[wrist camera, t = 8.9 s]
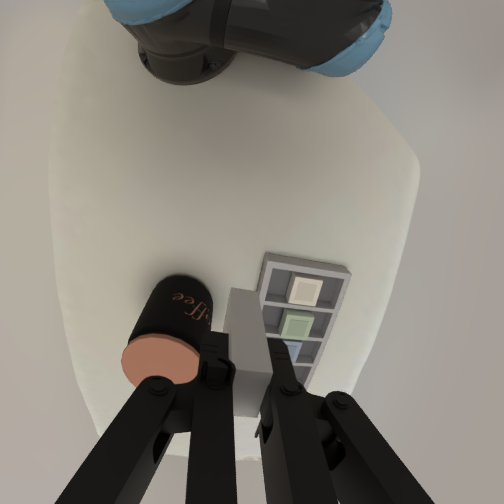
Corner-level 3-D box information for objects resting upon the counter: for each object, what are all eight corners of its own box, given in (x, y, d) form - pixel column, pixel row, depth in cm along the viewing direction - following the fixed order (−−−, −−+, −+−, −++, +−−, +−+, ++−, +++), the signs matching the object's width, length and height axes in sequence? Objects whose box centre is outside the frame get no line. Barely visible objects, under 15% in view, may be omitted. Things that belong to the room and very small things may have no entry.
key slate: (275, 332, 50) (277, 340, 48) (299, 334, 51) (302, 343, 48) (269, 352, 52) (271, 361, 49) (293, 354, 52) (295, 363, 50)
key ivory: (292, 270, 46) (295, 277, 44) (319, 274, 47) (323, 281, 45) (285, 295, 48) (288, 303, 45) (311, 299, 48) (315, 306, 46)
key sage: (284, 307, 47) (287, 315, 45) (311, 310, 48) (314, 318, 45) (278, 329, 48) (280, 338, 46) (303, 332, 49) (306, 341, 47)
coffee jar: (223, 315, 50) (221, 390, 33) (171, 334, 51) (151, 407, 34) (196, 263, 46) (178, 325, 29) (141, 286, 47) (104, 350, 30)
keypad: (265, 253, 47) (267, 260, 43) (344, 266, 48) (351, 274, 45) (236, 374, 55) (237, 386, 51) (303, 379, 56) (306, 390, 53)
